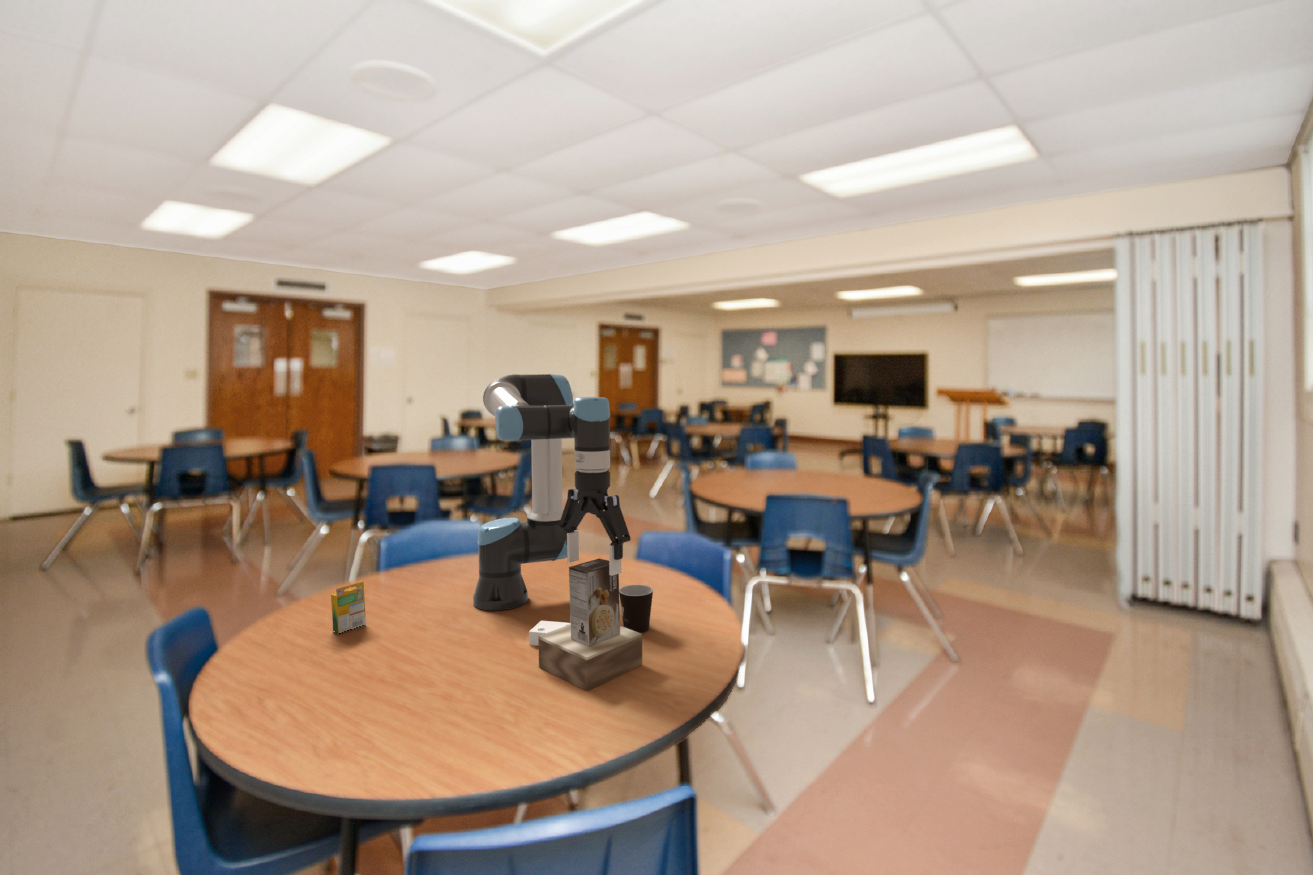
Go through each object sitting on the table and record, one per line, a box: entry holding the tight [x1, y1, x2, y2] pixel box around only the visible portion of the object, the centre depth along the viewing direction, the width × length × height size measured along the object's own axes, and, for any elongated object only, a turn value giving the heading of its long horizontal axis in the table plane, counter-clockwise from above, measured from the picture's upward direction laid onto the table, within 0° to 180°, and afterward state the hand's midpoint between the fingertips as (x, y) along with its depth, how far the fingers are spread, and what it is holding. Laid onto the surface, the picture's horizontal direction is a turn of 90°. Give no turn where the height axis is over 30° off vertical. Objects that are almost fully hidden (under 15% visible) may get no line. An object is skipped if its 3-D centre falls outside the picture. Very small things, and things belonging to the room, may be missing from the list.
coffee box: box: [568, 558, 621, 646], centre depth 134 cm, size 9×6×16 cm
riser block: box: [538, 624, 643, 692], centre depth 136 cm, size 16×16×7 cm
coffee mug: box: [619, 584, 654, 634], centre depth 158 cm, size 12×9×10 cm
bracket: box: [528, 619, 571, 647], centre depth 149 cm, size 13×7×8 cm, turn 77°
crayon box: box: [330, 581, 367, 634], centre depth 158 cm, size 7×3×12 cm, turn 145°
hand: (593, 567), depth 134 cm, fingers open, 13 cm apart
